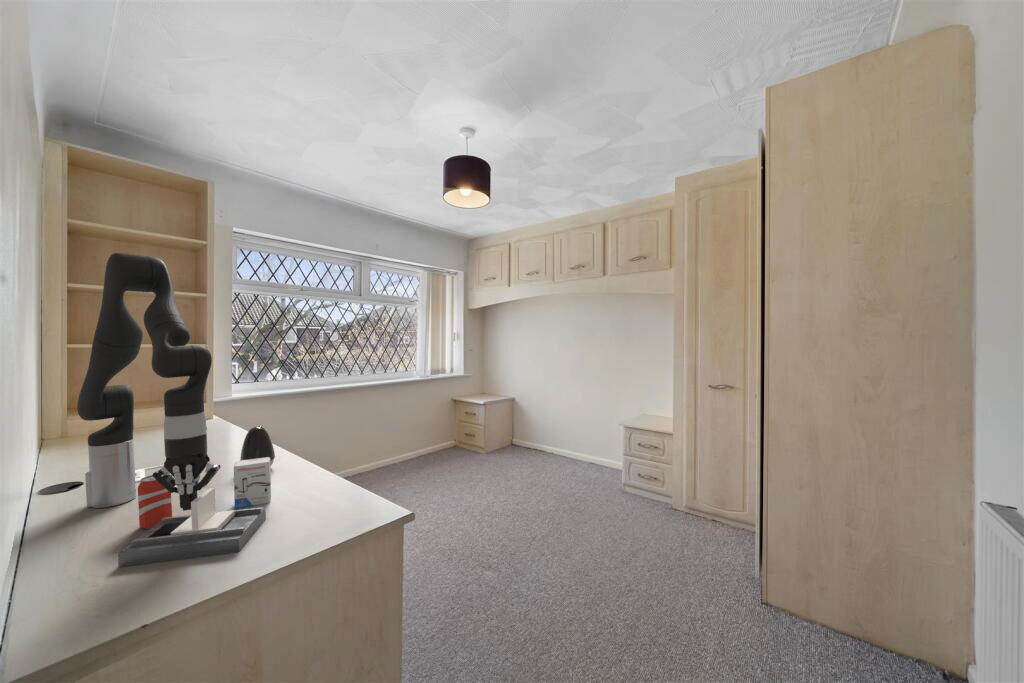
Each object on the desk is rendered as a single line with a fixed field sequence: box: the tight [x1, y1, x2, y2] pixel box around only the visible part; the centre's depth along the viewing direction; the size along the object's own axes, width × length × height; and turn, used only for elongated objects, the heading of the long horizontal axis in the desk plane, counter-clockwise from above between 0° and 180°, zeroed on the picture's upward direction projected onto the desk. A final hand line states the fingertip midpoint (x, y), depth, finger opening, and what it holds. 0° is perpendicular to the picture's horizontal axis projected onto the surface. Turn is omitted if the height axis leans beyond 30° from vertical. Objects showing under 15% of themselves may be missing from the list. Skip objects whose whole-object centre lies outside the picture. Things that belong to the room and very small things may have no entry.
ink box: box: [233, 457, 272, 510], centre depth 114 cm, size 9×5×12 cm, turn 117°
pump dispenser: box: [239, 425, 276, 467], centre depth 141 cm, size 10×10×15 cm
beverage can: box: [137, 474, 173, 530], centre depth 102 cm, size 6×6×12 cm
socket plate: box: [117, 506, 267, 568], centre depth 94 cm, size 22×16×4 cm
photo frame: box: [135, 464, 172, 484], centre depth 141 cm, size 15×1×18 cm
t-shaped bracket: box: [171, 487, 236, 535], centre depth 94 cm, size 9×9×7 cm
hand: (189, 508), depth 93 cm, fingers closed
